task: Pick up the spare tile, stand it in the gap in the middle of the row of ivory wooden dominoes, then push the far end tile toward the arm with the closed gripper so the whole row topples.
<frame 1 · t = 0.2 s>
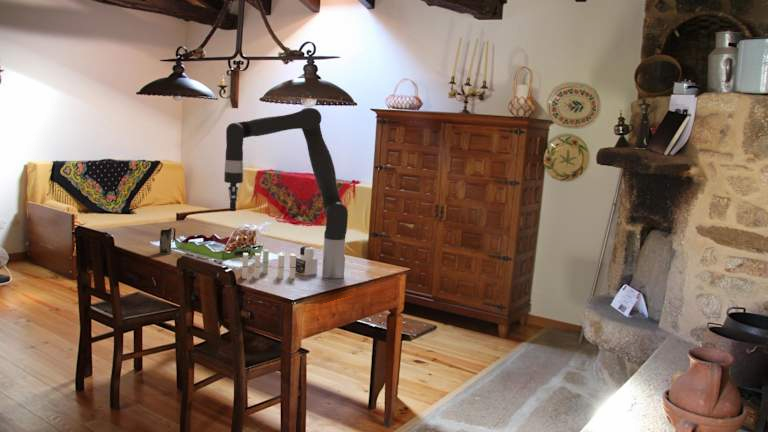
hand: (232, 209, 269), 28 cm above the table, fingers open, 8 cm apart
domino b: (256, 277, 274), on the table
medicine bottle: (305, 273, 287), on the table
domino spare: (264, 272, 283), on the table
mug: (167, 253, 310), on the table
domino e: (292, 277, 277), on the table
domino d: (280, 277, 276), on the table
domino a: (244, 277, 272), on the table
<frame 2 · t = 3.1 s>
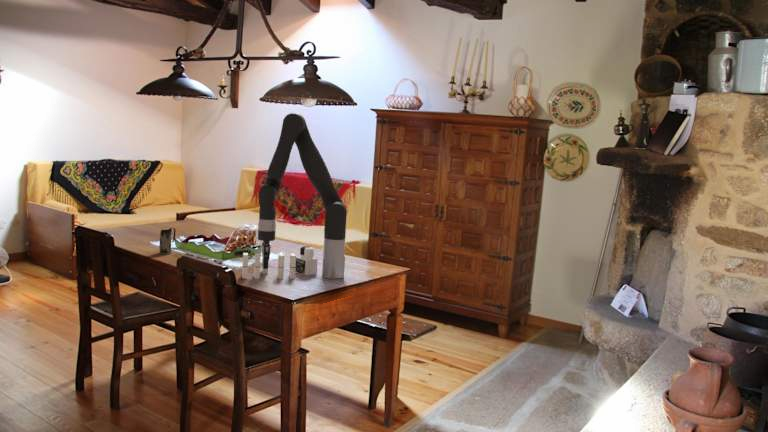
hand: (265, 267, 283), 2 cm above the table, fingers closed on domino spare, 5 cm apart
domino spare: (264, 272, 283), on the table, touching gripper
everything else where it was.
when the fingers open (3 cm above the table, at t = 8.1 s): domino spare stays where it is, on the table.
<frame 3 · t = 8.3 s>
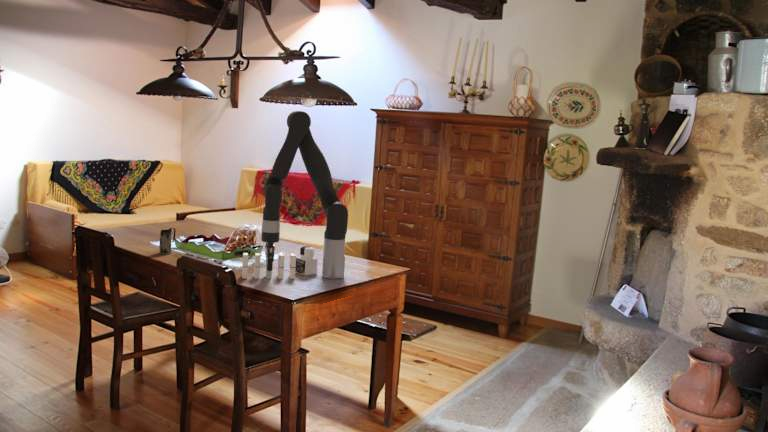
hand: (269, 268, 274), 4 cm above the table, fingers open, 6 cm apart
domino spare: (268, 277, 275), on the table
everything else where it was.
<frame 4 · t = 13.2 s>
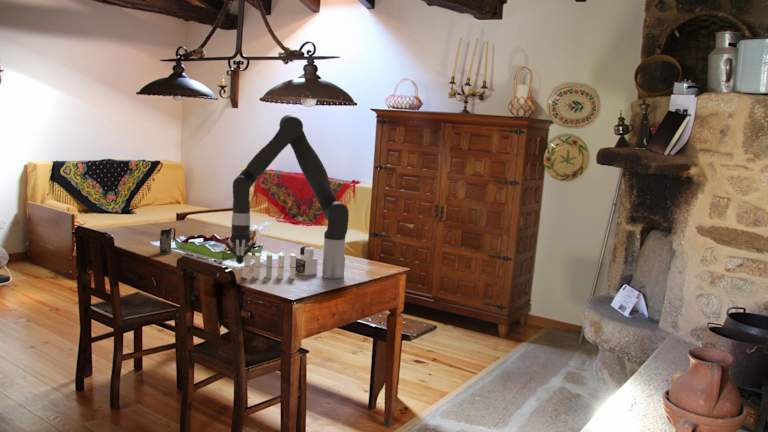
hand: (239, 263, 271), 6 cm above the table, fingers closed
domino a: (244, 276, 272), on the table, tilted 9°
everything else where it was.
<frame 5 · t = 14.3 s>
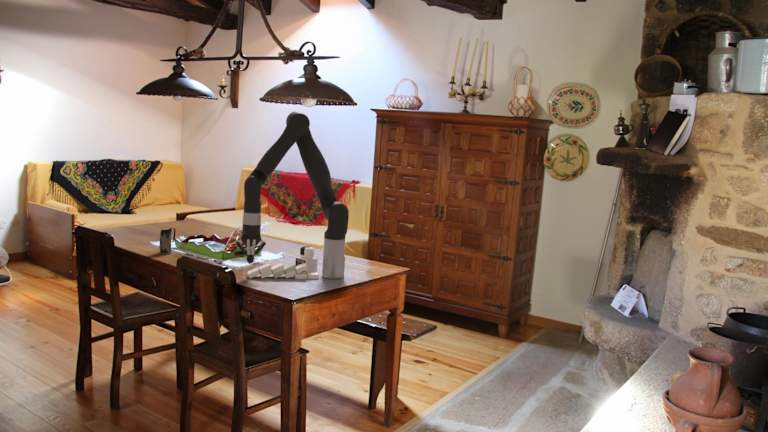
hand: (250, 263, 272), 6 cm above the table, fingers closed
domino b: (260, 275, 274), point 1 cm above the table, tilted 66°, touching domino a, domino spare
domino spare: (273, 275, 275), point 1 cm above the table, tilted 65°, touching domino b, domino d
domino e: (294, 275, 277), point 1 cm above the table, tilted 90°, touching domino d
domino d: (284, 275, 276), point 1 cm above the table, tilted 65°, touching domino e, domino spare
domino a: (248, 275, 272), point 1 cm above the table, tilted 67°, touching domino b
everything else where it was.
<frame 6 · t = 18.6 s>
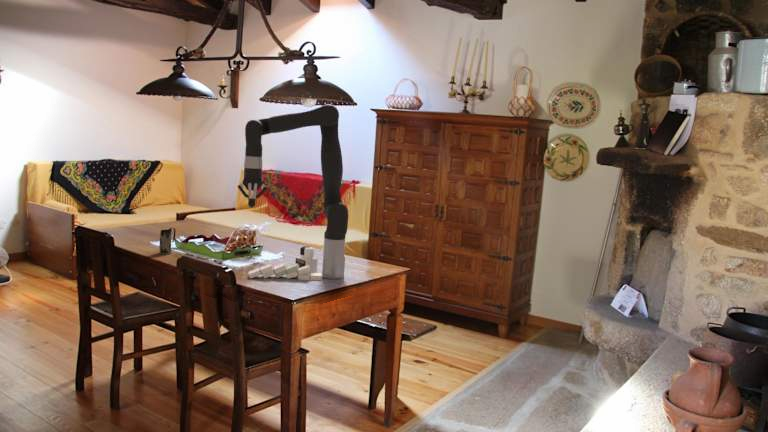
hand: (251, 207, 276), 29 cm above the table, fingers closed
domino b: (263, 275, 274), point 1 cm above the table, tilted 65°, touching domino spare
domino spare: (276, 274, 276), point 1 cm above the table, tilted 66°, touching domino b, domino d
domino e: (298, 276, 277), point 1 cm above the table, tilted 90°, touching domino d
domino d: (287, 275, 276), point 1 cm above the table, tilted 68°, touching domino e, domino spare
domino a: (249, 275, 272), point 1 cm above the table, tilted 68°
everything else where it was.
at the end: domino e tilted 90°; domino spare tilted 66°; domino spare inside the target area (2.3 cm from its centre), point 1.0 cm above the table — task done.
